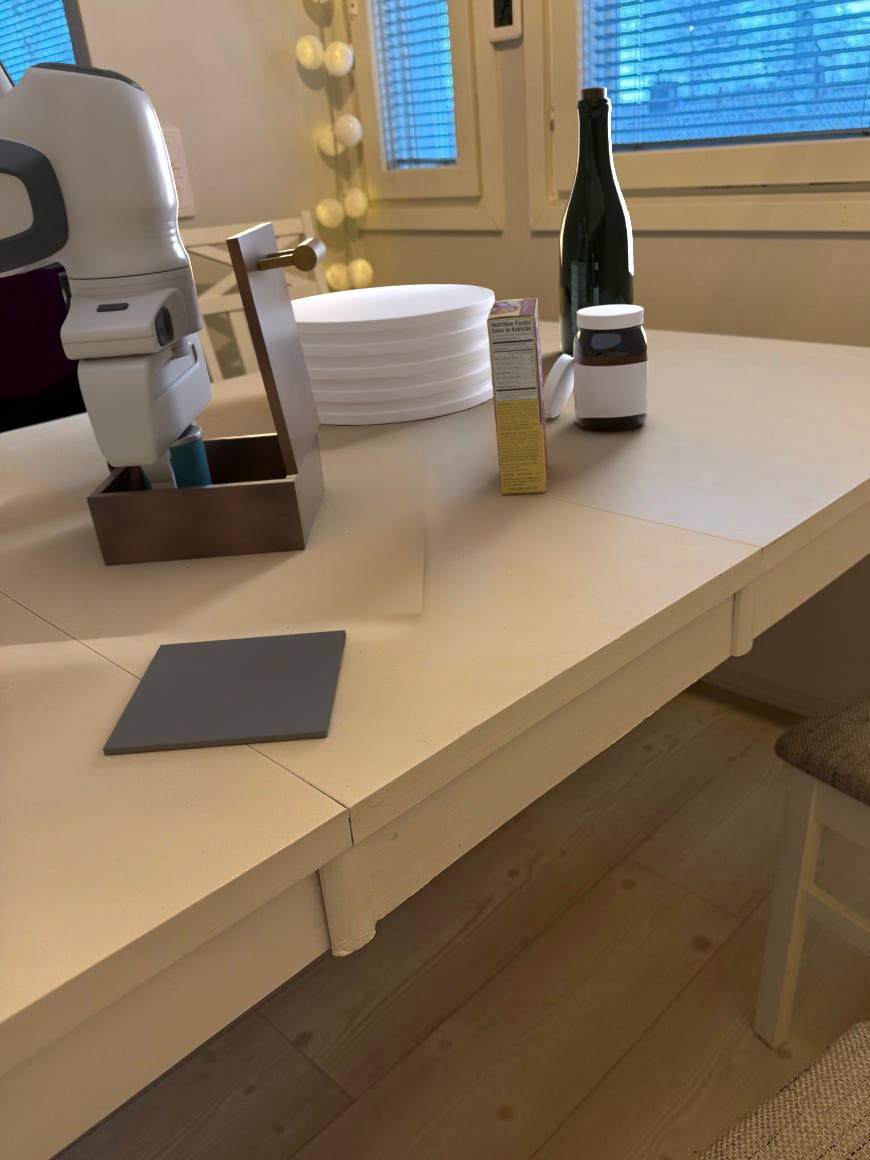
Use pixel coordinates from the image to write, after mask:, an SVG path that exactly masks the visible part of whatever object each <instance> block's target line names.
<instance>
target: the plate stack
mask: <svg viewBox="0 0 870 1160" xmlns="http://www.w3.org/2000/svg"><path fill="white" fill-rule="evenodd" d="M495 301H496V296H495V291H494V290H492V289H490V288H488V287H484V286H478V285H470V284H457V283H456V284H455V283H454V284H451V283H429V284H427V283H426V284H422V283H421V284H402V285H401V284H400V285H389V286H377V287H367V288H366V287H365V288H357V289H348V290H341V291H334V292H333V291H332V292H328V293H327V292H326V293H320V294H316V295H311V296H306V297H301V298H297V299H293V300H291V304H292V308H293V312H294V316H295V321H296V325H297V329H298V333H299V337H300V341H301V346H302V350H303V354H304V358H305V362H306V367H307V371H308V375H309V379H310V383H311V387H312V392H313V396H314V400H315V404H316V408H317V412H318V417H319V421H320V425H333V426H334V425H335V426H368V425H369V426H370V425H383V424H384V425H385V424H397V423H403V422H405V423H406V422H413V421H420V420H426V419H431V418H437V417H441V416H445V415H446V416H447V415H450V414H454V413H458V412H462V411H465V410H468V409H471V408H474V407H477V406H479V405H481V403H482V404H484V403H486V402H488V401H490V400H492V399H494V398H493V386H492V374H491V361H490V349H489V338H488V328H487V319H488V316H489V314H490V312H491V309H492V307H493V304H494V302H495ZM489 399H490V400H489Z"/></svg>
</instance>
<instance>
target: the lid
mask: <svg viewBox="0 0 870 1160" xmlns="http://www.w3.org/2000/svg"><path fill="white" fill-rule="evenodd" d="M225 242H226V246H227V250H228V254H229V258H230V261H231V265H232V269H233V273H234V277H235V281H236V284H237V288H238V292H239V296H240V299H241V303H242V307H243V311H244V315H245V318H246V322H247V326H248V330H249V334H250V338H251V341H252V346H253V349H254V353H255V356H256V361H257V364H258V369H259V373H260V376H261V379H262V383H263V387H264V391H265V395H266V398H267V403H268V406H269V409H270V410H269V411H270V414H271V418H272V422H273V425H274V429H275V433H277V437H278V441H279V445H280V448H281V452H282V456H283V460H284V464H285V467H286V471H287V475H288V476H290V475H296V474H299V472H300V469H301V467H302V465H303V462H304V460H305V458H306V455H307V453H308V451H309V448H310V446H311V443H312V441H313V439H314V436H315V434H316V432H317V431H318V429H319V427H320V425H321V424H320V421H319V417H318V412H317V408H316V404H315V400H314V396H313V392H312V387H311V383H310V379H309V375H308V371H307V367H306V362H305V358H304V354H303V350H302V346H301V341H300V337H299V333H298V329H297V325H296V321H295V316H294V312H293V308H292V304H291V301H292V300H291V295H290V291H289V288H288V283H287V280H286V276H285V272H284V268H287V267H291V266H294V267H295V268H296V269H297V270H299V271H300V272H303V273H305V272H306V273H308V272H311V271H313V270H314V269H315V268H316V267H317V266H318V265H319V264H320V263H321V262H322V261H323V260H324V259H325V258H326V254H327V248H326V245H325V244H324V242H323V241H322V240H320V239H319V238H317V237H309V238H307V239H306V240H304V241H303V242H302V243H300V244H298V246H296V247H295V248H293V249H287V250H279V245H278V241H277V237H276V233H275V229H274V226H273V222H272V221H271V222H270V221H269V222H264V223H263V222H262V223H260V224H259V225H256V226H254V227H252V228H249V229H246V230H245V231H243V232H240V233H237V234H235V235H233V236H230V237H228V238H226V239H225ZM317 433H318V432H317Z"/></svg>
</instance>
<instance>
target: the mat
mask: <svg viewBox="0 0 870 1160" xmlns="http://www.w3.org/2000/svg"><path fill="white" fill-rule="evenodd" d="M346 637H347V633H346V630H345V629H340V630H328V631H327V630H325V631H317V632H304V633H303V632H302V633H290V634H278V635H264V636H255V637H254V636H253V637H241V638H229V639H216V640H204V641H202V640H201V641H192V642H191V641H190V642H178V643H165V644H160V645H159V646H158V648H157V650H156V652H155V654H154V656H153V658H152V659H151V661H150V662H149V665H148V666H147V668H146V670H145V672H144V674H143V676H142V678H141V679H140V681H139V683H138V685H137V686H136V688H135V690H134V692H133V694H132V695H131V697H130V699H129V700H128V703H127V704H126V706H125V708H124V710H123V711H122V714H121V715H120V717H119V718H118V720H117V722H116V724H115V726H114V727H113V729H112V731H111V733H110V735H109V737H108V738H107V740H106V742H105V744H104V745H103V747H102V751H103V755H104V756H107V755H120V754H132V753H144V752H158V751H169V750H180V749H181V750H182V749H193V748H205V747H207V748H208V747H218V746H229V745H241V744H242V745H243V744H254V743H255V744H256V743H267V742H269V743H270V742H279V741H281V742H282V741H290V740H291V741H292V740H293V741H294V740H305V739H316V738H326V737H328V733H329V727H330V722H331V721H330V720H331V717H332V711H333V706H334V699H335V695H336V690H337V686H338V685H337V684H338V679H339V674H340V669H341V664H342V663H341V662H342V658H343V653H344V652H343V651H344V647H345V641H346Z"/></svg>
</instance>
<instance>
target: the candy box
mask: <svg viewBox="0 0 870 1160" xmlns="http://www.w3.org/2000/svg"><path fill="white" fill-rule="evenodd" d="M538 303H539V302H538V297H528V298H527V297H526V298H525V297H524V298H514V299H513V298H511V299H503V300H495V302H494V304H493V307H492V308H491V309H490V310H491V312H490V314H489V316H488V319H487V328H488V338H489V349H490V361H491V374H492V386H493V398H492V399H493V407H494V408H493V410H494V420H495V421H494V422H495V433H496V443H497V453H498V454H497V456H498V467H499V479H500V490H501V491H500V492H501V495H505V496H506V495H507V496H508V495H509V496H510V495H511V496H512V495H528V494H529V495H531V494H532V495H533V494H544V493H546V492H547V491H546V490H547V481H548V480H547V479H548V469H549V468H548V467H549V454H548V442H547V441H548V440H547V427H546V426H547V425H546V423H547V422H546V415H545V406H544V391H543V389H544V377H543V364H542V350H541V349H542V347H541V336H540V335H541V334H540V333H541V332H540V318H539V304H538Z"/></svg>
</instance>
